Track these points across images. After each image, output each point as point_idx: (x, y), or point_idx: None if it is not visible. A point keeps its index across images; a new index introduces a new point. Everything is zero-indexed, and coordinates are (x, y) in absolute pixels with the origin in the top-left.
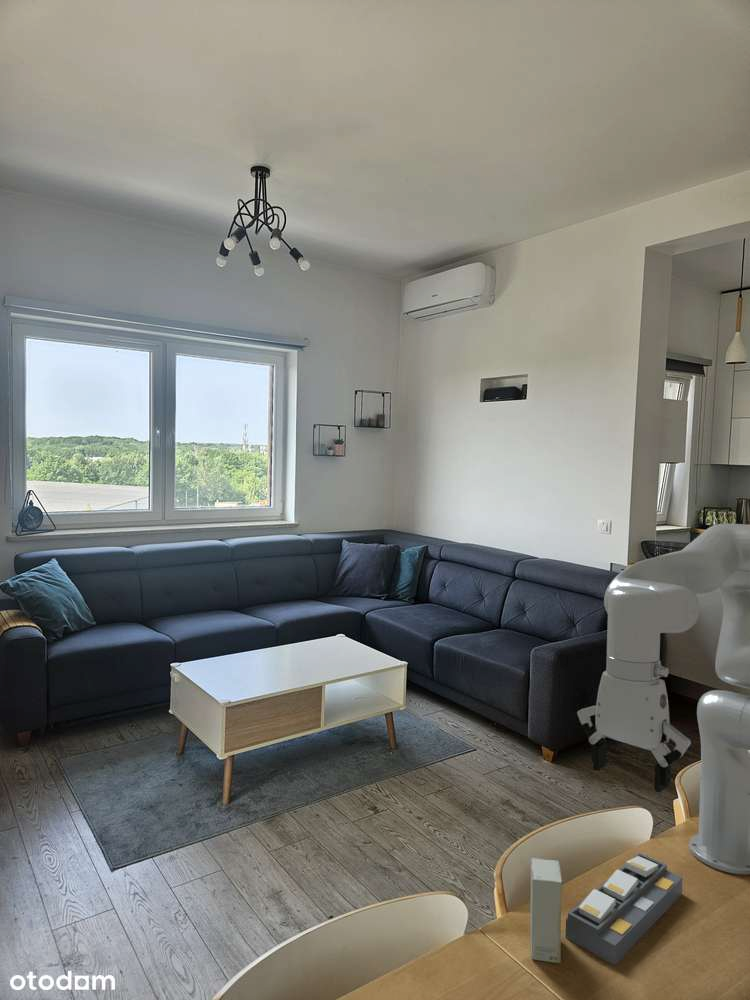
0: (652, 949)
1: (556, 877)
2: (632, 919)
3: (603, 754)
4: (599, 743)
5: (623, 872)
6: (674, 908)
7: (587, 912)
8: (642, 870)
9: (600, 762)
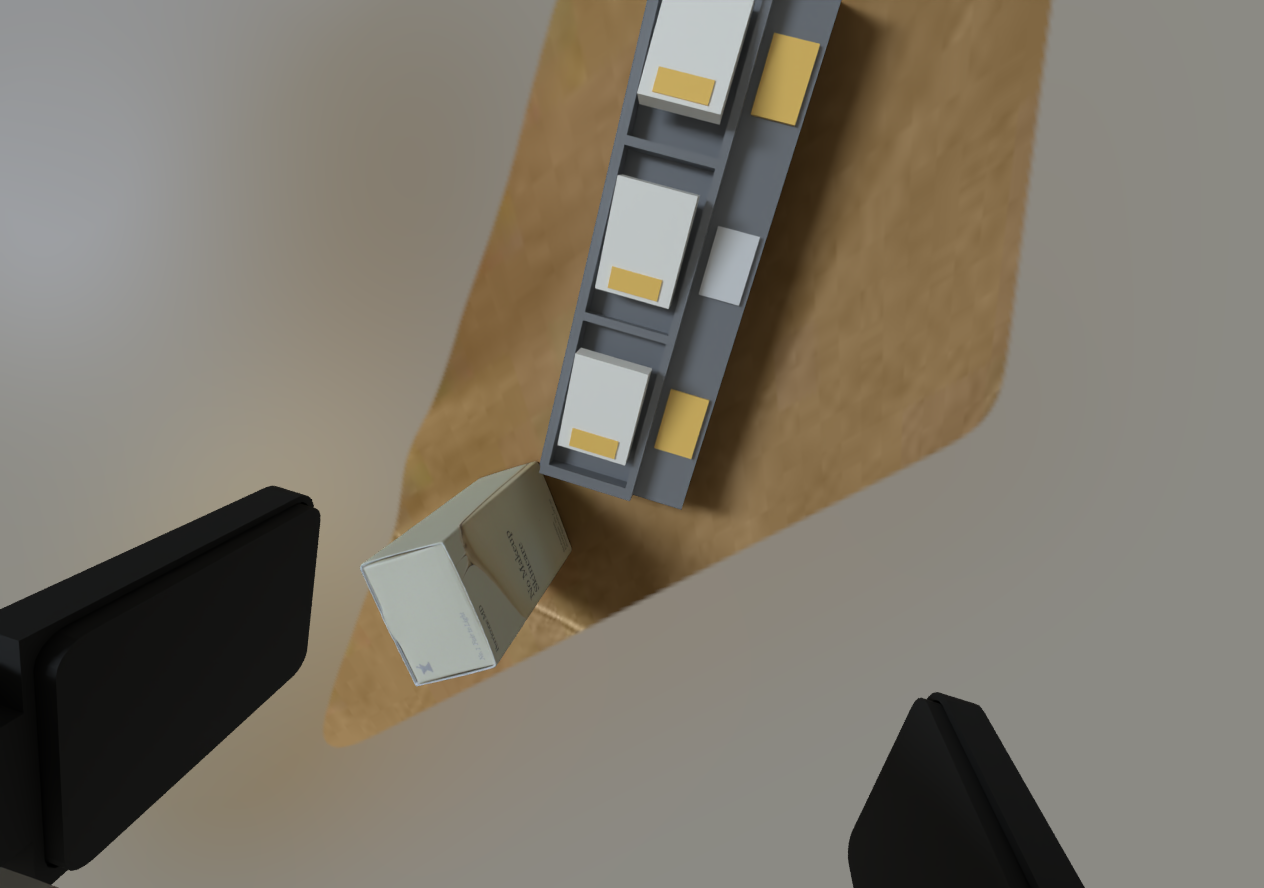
0: (766, 375)
1: (473, 645)
2: (707, 367)
3: (203, 643)
4: (7, 855)
5: (642, 183)
6: (816, 118)
7: (586, 452)
8: (705, 113)
9: (260, 662)
